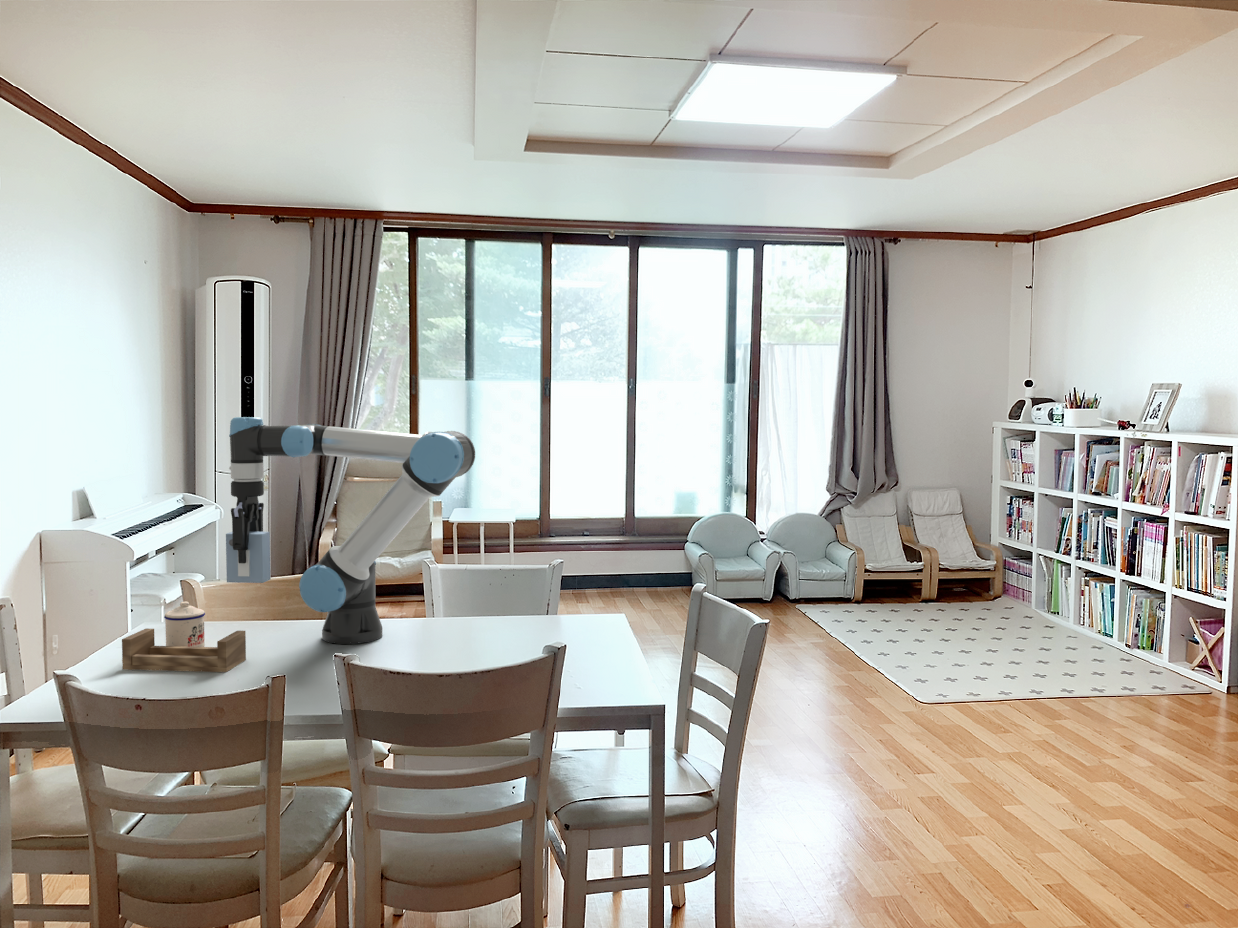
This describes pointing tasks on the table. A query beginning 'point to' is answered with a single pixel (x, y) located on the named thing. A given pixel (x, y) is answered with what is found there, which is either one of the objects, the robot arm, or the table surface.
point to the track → (182, 654)
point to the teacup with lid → (185, 626)
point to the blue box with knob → (258, 558)
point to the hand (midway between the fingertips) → (248, 573)
